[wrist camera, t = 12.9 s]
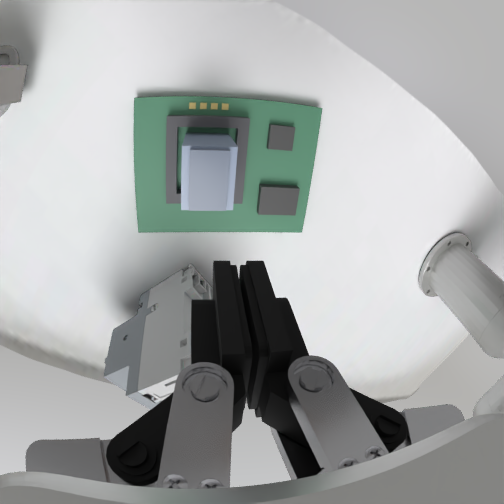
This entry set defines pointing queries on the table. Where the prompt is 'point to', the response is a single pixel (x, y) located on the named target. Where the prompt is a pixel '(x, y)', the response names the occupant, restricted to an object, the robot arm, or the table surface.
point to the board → (247, 168)
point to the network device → (11, 79)
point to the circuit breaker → (156, 339)
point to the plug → (208, 171)
